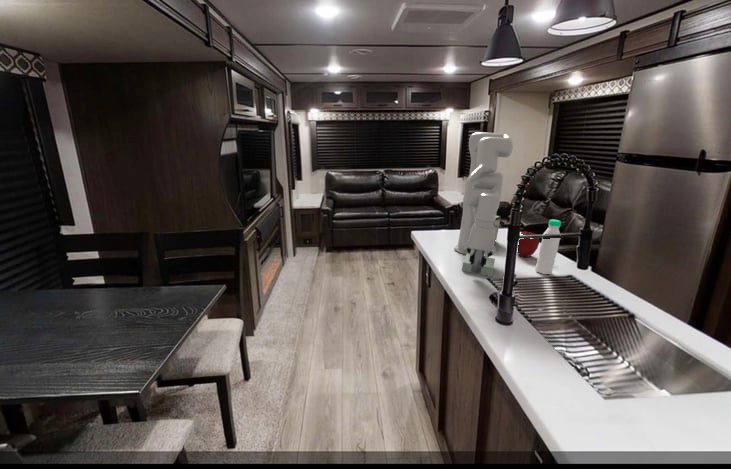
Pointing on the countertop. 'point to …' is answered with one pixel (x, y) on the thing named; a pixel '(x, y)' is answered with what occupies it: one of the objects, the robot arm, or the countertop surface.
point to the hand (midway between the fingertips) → (477, 264)
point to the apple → (527, 245)
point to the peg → (477, 261)
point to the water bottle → (548, 249)
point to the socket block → (485, 269)
